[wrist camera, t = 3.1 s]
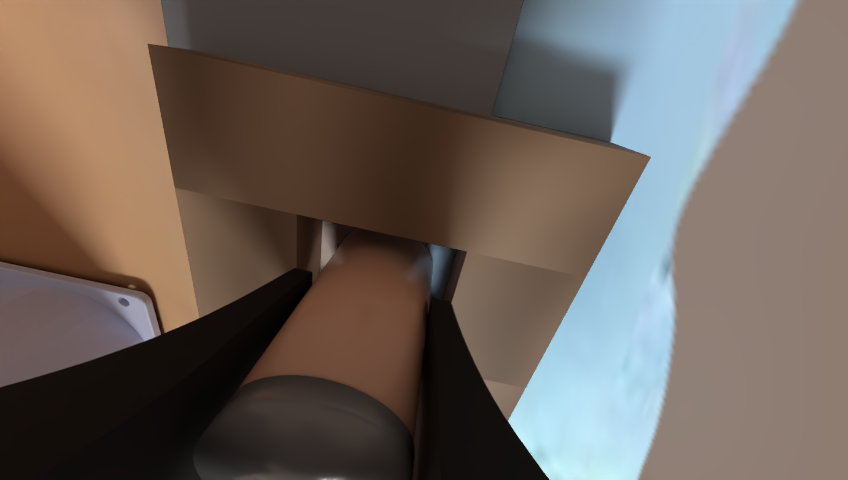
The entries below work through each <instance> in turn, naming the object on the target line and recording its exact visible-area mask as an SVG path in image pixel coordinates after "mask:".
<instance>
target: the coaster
mask: <svg viewBox="0 0 848 480" xmlns="http://www.w3.org/2000/svg"><path fill="white" fill-rule="evenodd" d="M523 1H524V0H161V4H162V10H163V16H164V23H165V29H166V35H167V41H168V47H175V48H182V49H189V50H197V51H203V52H207V53H212V54H216V55H221V56H225V57H229V58H234V59H238V60H243V61H247V62H252V63H256V64H261V65H265V66H269V67H274V68H278V69H283V70H287V71H292V72H296V73H300V74H305V75H309V76H314V77H318V78H323V79H327V80H332V81H336V82H340V83H345V84H349V85H354V86H358V87H363V88H367V89H372V90H376V91H380V92H385V93H389V94H394V95H398V96H403V97H407V98H412V99H416V100H420V101H425V102H429V103H434V104H438V105H443V106H447V107H452V108H456V109H460V110H465V111H469V112H474V113H478V114H483V115H487V116H491V114H492V111H493V107H494V104H495V100H496V97H497V93H498V89H499V86H500V82H501V79H502V75H503V72H504V68H505V65H506V61H507V58H508V54H509V50H510V47H511V43H512V40H513V36H514V33H515V29H516V26H517V22H518V19H519V15H520V11H521V8H522V4H523Z"/></svg>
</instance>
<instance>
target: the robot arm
mask: <svg viewBox="0 0 848 480" xmlns="http://www.w3.org/2000/svg"><path fill="white" fill-rule="evenodd" d="M312 274H313V272H311V271H306V270H301V269H297V268H294V269H292V270H290V271H288V272H286V273H284V274H283V275H281V276H279V277H277V278H276V279H274V280H272V281H270V282H268V283H267V284H265V285H263V286H261V287H260V288H258V289H256V290H254V291H252V292H250V293H249V294H247V295H245V296H243V297H241V298H239V299H237V300H236V301H234V302H232V303H229V304H227V305H225V306H223V307H221V308H219V309H217V310H215V311H213V312H211V313H209V314H207V315H205V316H203V317H201V318H199V319H197V320H195V321H192V322H190V323H188V324H186V325H183V326H181V327H179V328H176V329H174V330H171V331H169V332H167V333H164V334H162V335H161V333H160V329H159V325H158V322H157V318H156V315H155V311H154V307H153V304H152V300H151V298H150V297H149V296H148V295H147V294H145V293H143V292H140V291H136V290H131V289H126V288H122V287H117V286H112V285H108V284H103V283H98V282H94V281H89V280H84V279H79V278H75V277H70V276H65V275H61V274H56V273H51V272H46V271H42V270H37V269H32V268H28V267H23V266H18V265H14V264H9V263H4V262H0V480H202V479H201V478H200V476H199V474H198V473H197V470H196V468H195V465H194V460H193V452H194V448H195V445H196V443H197V441H198V440H199V438H200V437H201V436H202V434H203V433H204V432H205V430H206V429H207V427H208V426H209V425H210V423H211V422H212V420H213V419H214V418H215V416H216V415H217V413H218V412H219V411H220V409H221V408H222V406H223V405H224V404H225V402H226V401H227V400H228V398H229V397H230V395H231V394H232V393H233V392H235V391H236V390H237V389H238V388H239V387H240V386H241V384H242V383H243V381H244V380H245V379H246V377H247V376H248V374H249V373H250V371H251V370H252V369H253V367H254V366H255V364H256V363H257V362H258V360H259V359H260V357H261V356H262V355H263V353H264V352H265V350H266V349H267V347H268V346H269V345H270V343H271V342H272V340H273V339H274V338H275V336H276V335H277V333H278V332H279V331H280V329H281V328H282V326H283V325H284V323H285V322H286V321H287V319H288V318H289V316H290V315H291V314H292V312H293V311H294V309H295V308H296V306H297V305H298V304H299V302H300V301H301V299H302V298H303V297H304V295H305V294H306V292H307V291H308V290H309V288H310V287H311V285H312ZM414 446H415V461H414V470H413V480H549V478H548V477H547V476H546V475H545V473H544V472H543V471H542V469H541V468H540V467H539V465H538V464H537V462H536V461H535V460H534V458H533V457H532V455H531V454H530V453H529V451H528V450H527V449H526V447H525V446H524V444H523V443H522V442H521V440H520V439H519V437H518V436H517V435H516V433H515V432H514V430H513V429H512V427H511V425H510V424H509V422H508V421H507V419H506V418H505V416H504V415H503V413H502V411H501V410H500V408H499V406H498V405H497V403H496V401H495V400H494V398H493V396H492V395H491V393H490V391H489V389H488V387H487V386H486V384H485V382H484V380H483V378H482V376H481V374H480V372H479V370H478V368H477V366H476V364H475V362H474V360H473V358H472V356H471V353H470V351H469V349H468V346H467V344H466V342H465V339H464V337H463V335H462V332H461V329H460V327H459V324H458V321H457V318H456V315H455V312H454V309H453V305H452V304H451V302H450V301H445V300H441V299H436V298H432V301H431V304H430V308H429V312H428V318H427V327H426V337H425V347H424V356H423V365H422V374H421V383H420V392H419V402H418V411H417V420H416V429H415V438H414Z"/></svg>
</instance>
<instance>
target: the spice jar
mask: <svg viewBox="0 0 848 480" xmlns="http://www.w3.org/2000/svg"><path fill="white" fill-rule="evenodd" d="M432 273H433V265H432V259H431V256H430V254H429V251H428V249H427V248H426V246H425V245H424V244H423V242H421V241H417V240H412V239H407V238H403V237H398V236H394V235H389V234H384V233H380V232H375V231H371V230H366V229H362V228H357V229H355V230H353V231H352V232H351V233H349V234H348V235H347V236H346V237H345V239H344V240H343V242H342V243H341V244H340V246H339V247H338V249H337V250H336V251H335V253H334V254H333V256H332V257H331V258H330V260H329V261H328V263H327V264H326V266H325V267H324V268H323V270H322V271H321V273H320V274H319V275H318V277H317V278H316V280H315V281H314V282H313V284H312V285H311V287H310V288H309V290H308V291H307V292H306V294H305V295H304V297H303V298H302V299H301V301H300V302H299V304H298V305H297V306H296V308H295V309H294V311H293V312H292V314H291V315H290V316H289V318H288V319H287V321H286V322H285V323H284V325H283V326H282V328H281V329H280V331H279V332H278V333H277V335H276V336H275V338H274V339H273V340H272V342H271V343H270V345H269V346H268V347H267V349H266V350H265V352H264V353H263V355H262V356H261V357H260V359H259V360H258V362H257V363H256V364H255V366H254V367H253V369H252V370H251V371H250V373H249V374H248V376H247V377H246V379H245V380H244V381H243V383H242V384H241V386H240V387H239V388H238V389H237V390H236V391H235V392H233V393H232V394H231V395H230V397H229V398H228V400H227V401H226V402H225V404H224V405H223V406H222V408H221V409H220V411H219V412H218V413H217V415H216V416H215V418H214V419H213V420H212V422H211V423H210V425H209V426H208V427H207V429H206V430H205V432H204V433H203V434H202V436H201V437H200V438H199V440H198V441H197V443H196V445H195V448H194V452H193V460H194V465H195V468H196V470H197V473H198V474H199V476H200V478H201V479H202V480H413V470H414V461H415V446H414V438H415V429H416V420H417V411H418V402H419V392H420V383H421V374H422V365H423V356H424V347H425V337H426V327H427V318H428V310H429V301H430V292H431V283H432Z"/></svg>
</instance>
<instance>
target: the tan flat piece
mask: <svg viewBox="0 0 848 480" xmlns="http://www.w3.org/2000/svg"><path fill="white" fill-rule="evenodd" d="M148 48H149V54H150V59H151V64H152V70H153V75H154V80H155V85H156V91H157V96H158V101H159V106H160V112H161V117H162V122H163V128H164V133H165V138H166V143H167V149H168V154H169V159H170V164H171V170H172V175H173V180H174V186H175V191H176V196H177V201H178V207H179V212H180V217H181V222H182V228H183V233H184V238H185V244H186V249H187V254H188V259H189V265H190V270H191V275H192V280H193V286H194V291H195V296H196V302H197V307H198V312H199V317H200V318H201V317H203V316H205V315H207V314H209V313H211V312H213V311H215V310H217V309H219V308H221V307H223V306H225V305H227V304H229V303H232V302H234V301H236V300H237V299H239V298H241V297H243V296H245V295H247V294H249V293H250V292H252V291H254V290H256V289H258V288H260V287H261V286H263V285H265V284H267V283H268V282H270V281H272V280H274V279H276V278H277V277H279V276H281V275H283V274H284V273H286V272H288V271H290V270H292V269H294V268H297V269H301V270H306V271H311V272H313V274H312V284H313V282H314V281H315V280H316V278H317V277H318V275H319V274H320V258H321V237H322V220H325V221H329V222H334V223H339V224H343V225H348V226H352V227H357V228H362V229H366V230H371V231H375V232H380V233H384V234H389V235H394V236H398V237H403V238H407V239H412V240H417V241H421V242H426V243H430V244H435V245H440V246H444V247H449V248H453V249H457V252H456V256H455V259H454V262H453V266H452V269H451V273H450V276H449V280H448V283H447V287H446V290H445V294H444V297H443V300H445V301H450V302H451V304H452V305H453V309H454V312H455V315H456V318H457V321H458V324H459V327H460V329H461V332H462V335H463V337H464V339H465V342H466V344H467V346H468V349H469V351H470V353H471V356H472V358H473V360H474V362H475V364H476V366H477V368H478V370H479V372H480V374H481V376H482V378H483V380H484V382H485V384H486V386H487V387H488V389H489V391H490V393H491V395H492V396H493V398H494V400H495V401H496V403H497V405H498V406H499V408H500V410H501V411H502V413H503V415H504V416H505V418H506V419H507V421H508V419H509V418H510V416H511V414H512V412H513V410H514V408H515V407H516V405H517V403H518V401H519V399H520V397H521V395H522V394H523V392H524V390H525V388H526V386H527V384H528V383H529V381H530V379H531V377H532V375H533V373H534V372H535V370H536V368H537V366H538V364H539V362H540V360H541V359H542V357H543V355H544V353H545V351H546V349H547V348H548V346H549V344H550V342H551V340H552V338H553V337H554V335H555V333H556V331H557V329H558V327H559V325H560V324H561V322H562V320H563V318H564V316H565V314H566V313H567V311H568V309H569V307H570V305H571V303H572V301H573V300H574V298H575V296H576V294H577V292H578V290H579V289H580V287H581V285H582V283H583V281H584V279H585V278H586V276H587V274H588V272H589V270H590V268H591V266H592V265H593V263H594V261H595V259H596V257H597V255H598V254H599V252H600V250H601V248H602V246H603V244H604V242H605V241H606V239H607V237H608V235H609V233H610V231H611V230H612V228H613V226H614V224H615V222H616V220H617V219H618V217H619V215H620V213H621V211H622V209H623V207H624V206H625V204H626V202H627V200H628V198H629V196H630V195H631V193H632V191H633V189H634V187H635V185H636V183H637V182H638V180H639V178H640V176H641V174H642V172H643V171H644V169H645V167H646V165H647V163H648V161H649V160H650V158H651V157H649V156H647V155H644V154H641V153H638V152H636V151H633V150H630V149H627V148H625V147H622V146H619V145H616V144H614V143H611V142H606V141H602V140H597V139H593V138H588V137H584V136H580V135H575V134H571V133H566V132H562V131H557V130H553V129H548V128H544V127H540V126H535V125H531V124H526V123H522V122H517V121H513V120H509V119H504V118H500V117H495V116H487V115H483V114H478V113H474V112H469V111H465V110H460V109H456V108H452V107H447V106H443V105H438V104H434V103H429V102H425V101H420V100H416V99H412V98H407V97H403V96H398V95H394V94H389V93H385V92H380V91H376V90H372V89H367V88H363V87H358V86H354V85H349V84H345V83H340V82H336V81H332V80H327V79H323V78H318V77H314V76H309V75H305V74H300V73H296V72H292V71H287V70H283V69H278V68H274V67H269V66H265V65H261V64H256V63H252V62H247V61H243V60H238V59H234V58H229V57H225V56H221V55H216V54H212V53H207V52H203V51H197V50H189V49H182V48H175V47H167V46H160V45H152V44H148Z"/></svg>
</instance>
